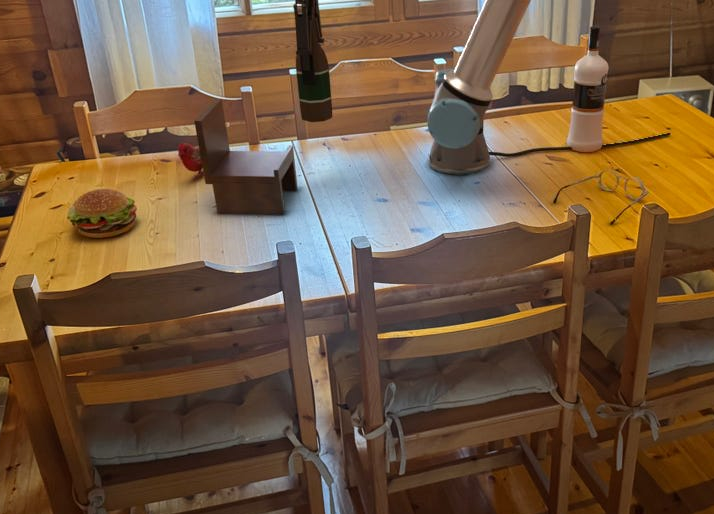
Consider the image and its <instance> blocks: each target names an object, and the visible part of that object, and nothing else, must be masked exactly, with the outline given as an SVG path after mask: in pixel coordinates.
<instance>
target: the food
mask: <svg viewBox="0 0 714 514" xmlns="http://www.w3.org/2000/svg"><path fill="white" fill-rule="evenodd" d="M135 203H136V202H135V200H134V199H132V198H130V197H128V196H127V195H126V194H125V193H123V192H122V191H119V190H116V189H111V188H98V189H94V190H90V191H88V192H85V193H83V194H82V195H80V196H78V197H77V198H76V200H75V201H74V203H73V204H72V205H71V206H70V207H69V210H68V212H67V217H66V219H67V220H69V222H70V223H71V225H72V226H73V227H75V226H76V225H77V232H78V233H79V234H80V235H82V236H84V237H86V238H94V239H101V238H111V237H114V236H118V235H121V234H123V233H125V232H128V231H129V230H130V229H131V228H133V227H134V226H135V221H136V218H137V213H136V212H137V210H138V206H137V205H136V204H135Z"/></svg>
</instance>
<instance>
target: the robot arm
mask: <svg viewBox="0 0 714 514" xmlns="http://www.w3.org/2000/svg"><path fill="white" fill-rule="evenodd" d="M294 1H295V2H294V3H293V6H292V7H293V12H294V24H295V39H296V51H295V55H300V59H301V69H302V80H303V85H316V81H315V69H314V58H313V54H311V53H312V49H311V22H312V21H313V20H314V15H315V22H316V29H317V36H318V41H319V45H320V46H321V47H322V44H324V43H325V38H323V29H322V23H321V21H322V20H321V14H320V4H319V0H294ZM531 1H532V0H484V3H483V4H482V7H481V9H480V12H479V14H478V16H477V18H476V21H475V23H474V25H473V28H472V30H471V32H470V34H469V37H468V39H467V41H466V44H465V46H464V48H463V50H462V52H461V55H460V57H459V58H458V62H457V64H456V65H455V66H456V67H455V68H453V67H452V68H444V69H443V68H442V69H440V70H437V72H436V73H435V78H434V85H435V92H434V93H435V94H434V97H433V100H432V103H431V106H430V108H429V109H428V111H427V114H426V117H427V118H426V123H427V129H428V132H429V134H430V136H431V137H432V140H433V142H432V146H431V149H430V151H429V152H428V153H427V157H428V166H429V167H430V168H431V169H432V170H434V171H436V172H439V173H441V174H446V175H455V176H463V175H472V174H477V173H481V172H483V171H485V170H486V169H488V168H489V167H490V165H491V156H496V157H504V158H513V157H519V156H524V155H526V154H531V153H539V152H556V151H557V152H558V151H559V152H561V151H573V150H572V148H571V147H568V146H552V147H551V146H550V147H549V146H548V147H536V148H529V149H525V150H521V151H518V152H508V153H506V152H498V151H489V148H488V145H487V141H486V138H485V135H484V124H485V123H484V121H485V119H484V118H485V115H486V113H487V110H488V109H489V106H490V104H491V103H492V100H493V97H494V95H493V93H492V90H491V86H492V84H493V82H494V80H495V78H496V75H497V73H498V71H499V69H500V67H501V65H502V64H503V61H504V58H505V56H506V54H507V52H508V50H509V47H510V45H511V44H512V41H513V39H514V37H515V36H516V34H517V31H518V29H519V26H520V24H521V22H522V21H523V19H524V16H525V14H526V12H527V10H528V8H529V5H530V3H531ZM314 8H315V11H316V12H315V13H314ZM303 47H305V48H303ZM666 133H667V132H666ZM671 133H672V132H670V133H667V134H663V133H661V134H662V135H658V134H657V135H658V136H654V135H652V136H653V137H649V136H647V137H648V138H644V137H643V138H644V139H639V138H638V139H639V140H634V139H633V140H634V141H629V140H627V141H628V142H623V141H621V142H622V143H616V142H613V143H614V144H608V143H605V144H606V145H602V147H601V148H600V149H602V148H611V147H618V146H624V145H625V146H627V145H630V144H631V145H632V144H636V143H642V142H645V141H651V140H655V139H659V138H664V137H669V136H671Z"/></svg>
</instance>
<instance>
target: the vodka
mask: <svg viewBox="0 0 714 514" xmlns="http://www.w3.org/2000/svg"><path fill="white" fill-rule="evenodd" d="M600 36H601V27H600V26H598V25H591V26H590V27H589V32H588V43H587V44H588V45H587V52H586V53H587V54H585V55H584V56H582V57H581V58H580V59H578V60H577V61H576V62H575V66H574V68H573V71H574V72H573V73H574V75H573V76H574V77H573V91H572V92H573V93H572V103H571V108H570V112H571V113H570V124H569V128H568V129H569V130H568V134H567V136H566V145H567V146H566V147H571V148H572V150H571V151H574V152H578V153H595V152H596V151H599V150H600V149H602V148H601V147H602V145H603V144H604V138H603V124H604V123H603V122H604V120H603V119H604V113H605V103H606V101H605V100H606V93H607V92H606V91H607V84H608V83H607V81H608V73H609V72H608V71H609V69H610V67H609V63H608V61H606V60H605V59H604V58H603V57H602V56H601V55H599V49H600V48H599V46H600Z"/></svg>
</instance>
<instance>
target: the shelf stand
mask: <svg viewBox="0 0 714 514" xmlns="http://www.w3.org/2000/svg"><path fill="white" fill-rule="evenodd" d="M193 122H194V128H195V133H196V139H197V144H198V145H197V146H199V150H200V156H201V162H202V167H203V168H202V171H203V172H202V174H203V178H204V184H205V185H212V190H213V196H214V201H215V202H214V203H215V207H216V213H217V215H256V216H257V215H262V216H263V215H265V216H284V215H285V213H286V208H285V200H284V194H283V193H284V192H285V191H287V192H297V191H298V190H299V188H298V179H297V169H296V162H295V151H294V145H288V146H287V148H286V149H285V150H284V151H269V150H268V151H266V150H265V151H262V150H261V151H259V150H256V151H255V150H231V149H230V144H229V137H228V130H227V123H226V117H225V111H224V105H223V99H222V98H215V99H214V100H213V101H212V102H211V103H210V104H209V105H208V106H207V107H206V108H205V109H204V110H203V111H202V112H201V113H200V114H199V115H198V116H197V118H196V119H194V121H193ZM283 191H284V192H283Z"/></svg>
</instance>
